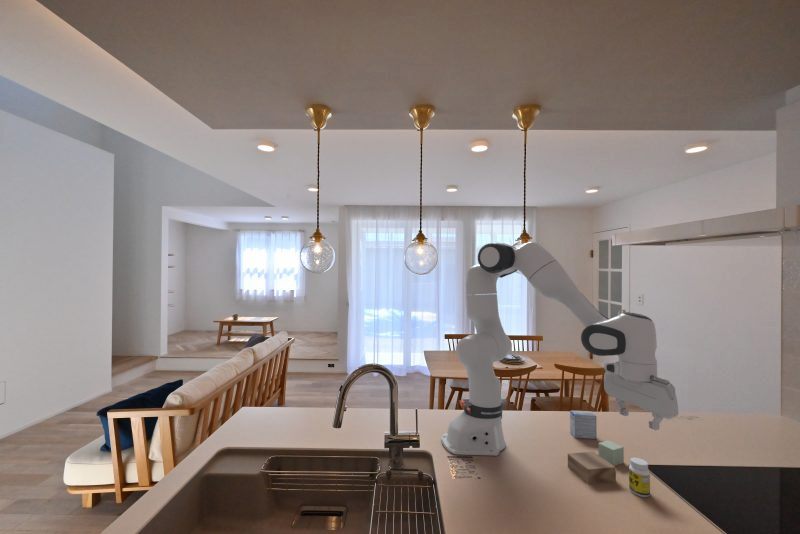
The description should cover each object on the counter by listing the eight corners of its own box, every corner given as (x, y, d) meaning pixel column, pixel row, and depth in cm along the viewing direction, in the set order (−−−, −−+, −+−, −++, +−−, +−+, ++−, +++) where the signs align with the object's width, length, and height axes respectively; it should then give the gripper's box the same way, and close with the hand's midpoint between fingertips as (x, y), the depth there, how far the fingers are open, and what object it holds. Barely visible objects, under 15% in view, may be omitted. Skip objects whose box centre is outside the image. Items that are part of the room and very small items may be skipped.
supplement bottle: (625, 487, 96) (624, 456, 96) (640, 486, 96) (640, 456, 96) (638, 498, 91) (637, 466, 91) (654, 497, 91) (654, 465, 92)
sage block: (613, 466, 107) (613, 450, 107) (598, 458, 111) (598, 443, 111) (623, 462, 109) (623, 447, 109) (608, 455, 113) (608, 440, 113)
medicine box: (591, 434, 129) (591, 411, 129) (597, 439, 125) (596, 415, 125) (569, 432, 130) (569, 410, 130) (574, 438, 125) (574, 414, 126)
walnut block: (588, 483, 97) (587, 469, 97) (567, 466, 106) (567, 453, 106) (615, 481, 98) (615, 467, 99) (593, 464, 107) (593, 451, 107)
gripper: (684, 381, 85) (685, 437, 85) (617, 362, 105) (618, 407, 105) (663, 382, 84) (665, 439, 83) (599, 363, 104) (600, 408, 103)
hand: (638, 421), depth 94 cm, fingers open, 8 cm apart
